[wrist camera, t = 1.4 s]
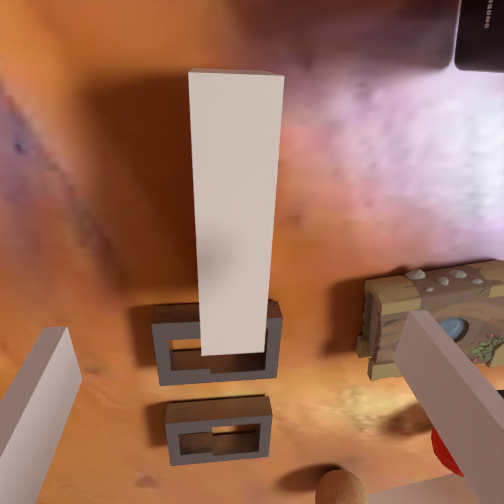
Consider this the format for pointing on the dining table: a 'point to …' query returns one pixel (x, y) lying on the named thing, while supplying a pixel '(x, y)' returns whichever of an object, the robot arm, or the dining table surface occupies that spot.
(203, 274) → the bar
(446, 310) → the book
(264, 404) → the keyhole plates
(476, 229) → the dining table surface
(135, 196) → the dining table surface
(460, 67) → the smartphone
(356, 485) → the fruit
